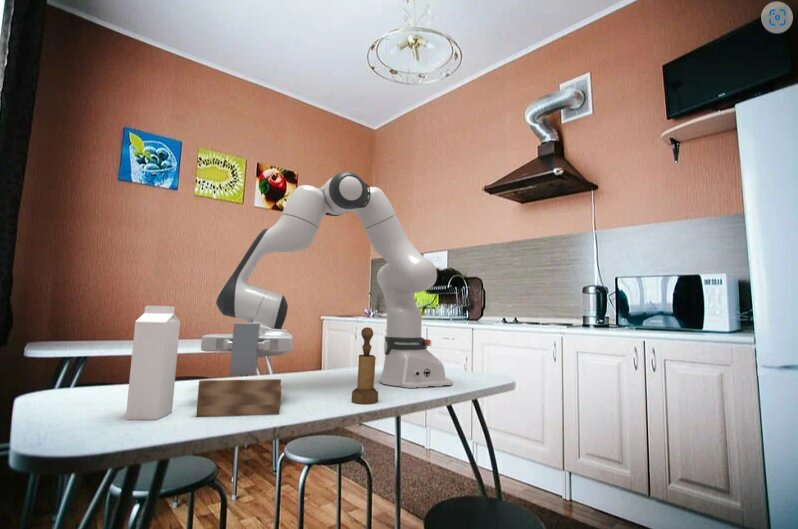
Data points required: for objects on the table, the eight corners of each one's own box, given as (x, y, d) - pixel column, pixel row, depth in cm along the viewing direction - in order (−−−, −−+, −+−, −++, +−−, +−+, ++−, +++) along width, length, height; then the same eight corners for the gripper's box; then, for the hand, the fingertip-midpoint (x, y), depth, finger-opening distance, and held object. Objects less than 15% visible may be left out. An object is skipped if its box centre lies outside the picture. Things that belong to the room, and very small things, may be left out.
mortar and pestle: (373, 405, 96) (376, 328, 98) (347, 403, 98) (350, 327, 100) (380, 399, 103) (383, 327, 105) (356, 397, 104) (358, 326, 106)
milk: (156, 420, 79) (167, 306, 81) (124, 420, 78) (136, 305, 81) (172, 412, 85) (182, 306, 87) (142, 411, 84) (153, 305, 87)
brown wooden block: (281, 398, 101) (282, 369, 101) (278, 414, 86) (280, 380, 86) (211, 400, 97) (213, 370, 97) (196, 416, 82) (199, 381, 83)
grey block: (256, 371, 93) (259, 323, 94) (254, 375, 88) (258, 324, 89) (233, 371, 92) (237, 322, 93) (229, 375, 87) (233, 323, 88)
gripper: (208, 327, 101) (195, 330, 87) (293, 329, 106) (293, 332, 92) (206, 353, 100) (192, 360, 87) (291, 354, 105) (291, 360, 92)
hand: (245, 346), depth 90 cm, fingers closed on grey block, 5 cm apart
